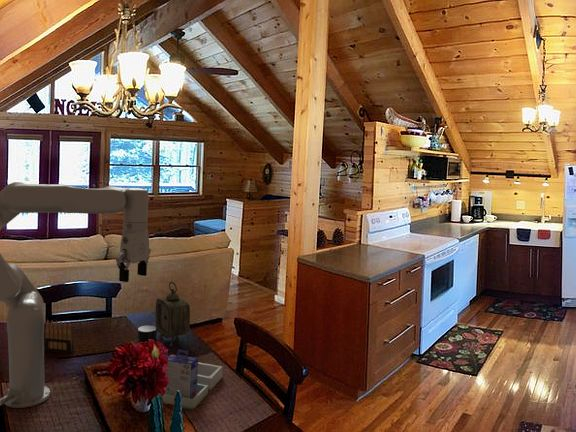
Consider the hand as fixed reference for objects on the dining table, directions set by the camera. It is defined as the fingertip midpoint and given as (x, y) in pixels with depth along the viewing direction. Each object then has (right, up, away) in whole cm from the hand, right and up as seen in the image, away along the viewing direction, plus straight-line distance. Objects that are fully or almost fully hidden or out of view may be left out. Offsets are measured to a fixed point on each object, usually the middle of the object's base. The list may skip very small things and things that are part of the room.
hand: (133, 278), depth 159 cm
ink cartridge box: (+16, -37, -4) cm, 41 cm away
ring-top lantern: (+3, -31, +41) cm, 51 cm away
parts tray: (+16, -38, -4) cm, 41 cm away
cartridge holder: (+20, -36, +8) cm, 42 cm away
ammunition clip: (-36, -31, +26) cm, 54 cm away
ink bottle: (-2, -33, +23) cm, 40 cm away
